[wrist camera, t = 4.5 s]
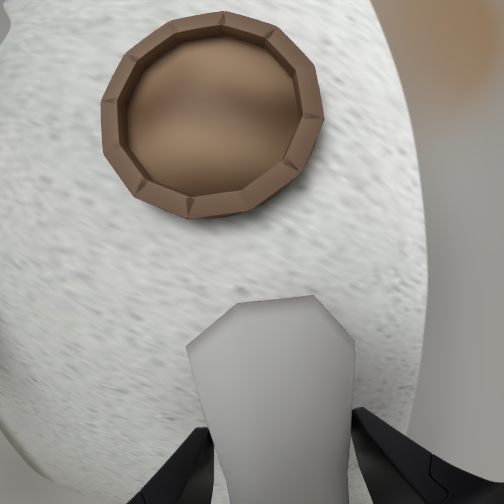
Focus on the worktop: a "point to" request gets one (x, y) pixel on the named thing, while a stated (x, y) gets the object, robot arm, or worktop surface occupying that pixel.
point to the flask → (278, 400)
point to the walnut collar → (211, 115)
